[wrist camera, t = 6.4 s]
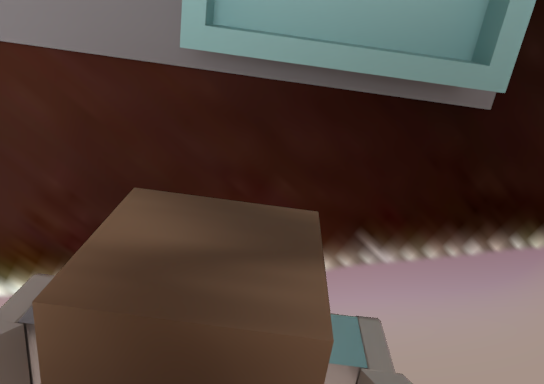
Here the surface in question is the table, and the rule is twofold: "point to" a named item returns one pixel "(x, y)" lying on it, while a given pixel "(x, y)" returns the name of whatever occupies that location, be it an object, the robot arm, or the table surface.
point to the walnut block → (189, 297)
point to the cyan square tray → (369, 36)
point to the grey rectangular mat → (166, 48)
